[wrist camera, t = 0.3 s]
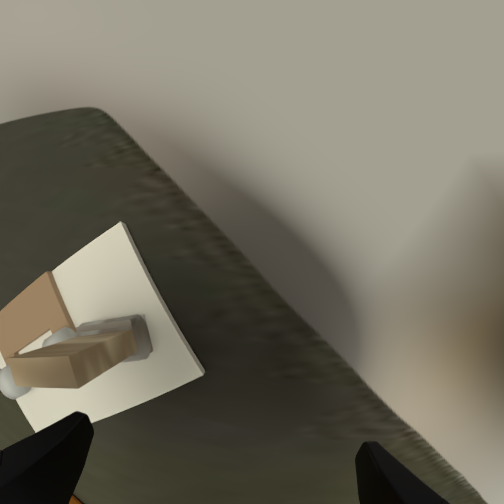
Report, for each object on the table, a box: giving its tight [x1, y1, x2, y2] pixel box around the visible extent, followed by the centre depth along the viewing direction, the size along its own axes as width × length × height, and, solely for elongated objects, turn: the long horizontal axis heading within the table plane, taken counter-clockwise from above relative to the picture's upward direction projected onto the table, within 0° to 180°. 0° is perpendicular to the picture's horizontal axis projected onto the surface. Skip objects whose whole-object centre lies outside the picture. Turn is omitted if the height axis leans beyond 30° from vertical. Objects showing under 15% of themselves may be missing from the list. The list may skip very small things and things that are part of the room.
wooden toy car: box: [7, 314, 153, 389], centre depth 16 cm, size 3×5×11 cm
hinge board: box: [0, 222, 205, 432], centre depth 20 cm, size 14×23×4 cm, turn 120°
